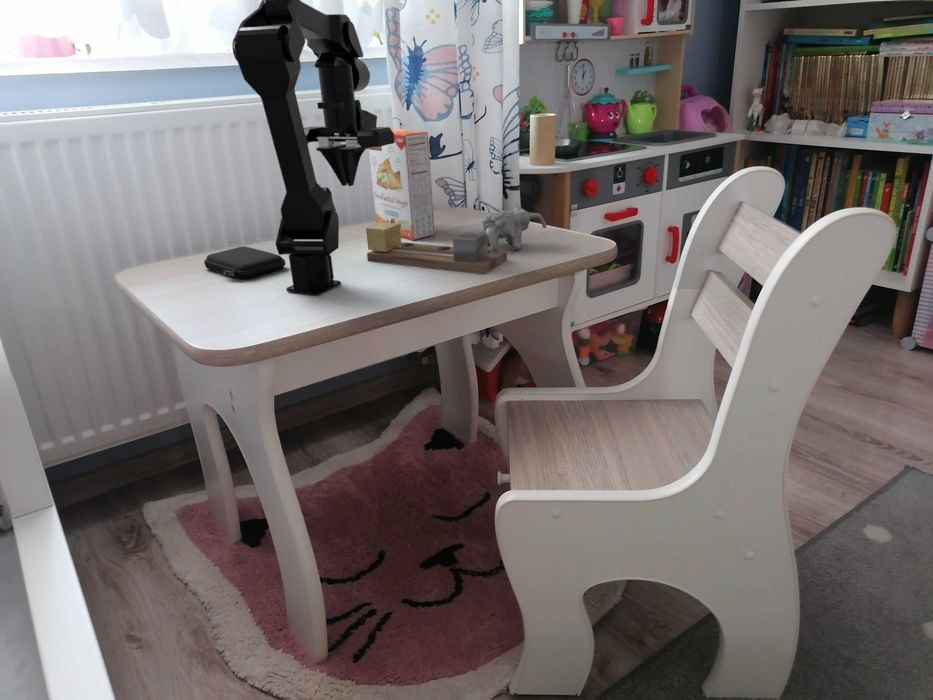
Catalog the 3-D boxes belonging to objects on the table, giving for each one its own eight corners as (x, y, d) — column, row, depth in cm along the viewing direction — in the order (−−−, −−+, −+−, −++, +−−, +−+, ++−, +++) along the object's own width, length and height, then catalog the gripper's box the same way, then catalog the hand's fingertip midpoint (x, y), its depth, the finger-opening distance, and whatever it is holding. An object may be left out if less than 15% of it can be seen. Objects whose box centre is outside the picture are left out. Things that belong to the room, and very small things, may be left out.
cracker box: (375, 230, 149) (365, 129, 141) (398, 225, 153) (390, 126, 145) (411, 241, 139) (403, 133, 131) (435, 236, 143) (429, 130, 134)
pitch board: (484, 274, 117) (483, 242, 114) (367, 261, 127) (364, 231, 125) (506, 260, 124) (506, 229, 122) (394, 248, 135) (392, 220, 132)
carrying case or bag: (196, 272, 127) (238, 286, 118) (192, 255, 126) (235, 268, 117) (247, 258, 134) (291, 270, 125) (244, 243, 133) (288, 254, 124)
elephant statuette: (474, 248, 134) (471, 209, 130) (526, 235, 139) (524, 197, 135) (499, 259, 126) (496, 218, 123) (553, 245, 131) (551, 205, 128)
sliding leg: (386, 252, 125) (384, 229, 124) (368, 250, 127) (366, 228, 125) (408, 242, 131) (406, 220, 130) (390, 240, 133) (389, 219, 131)
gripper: (407, 91, 123) (414, 180, 129) (324, 92, 131) (334, 176, 137) (371, 95, 114) (380, 191, 120) (284, 97, 122) (297, 186, 128)
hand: (347, 185), depth 127 cm, fingers closed
